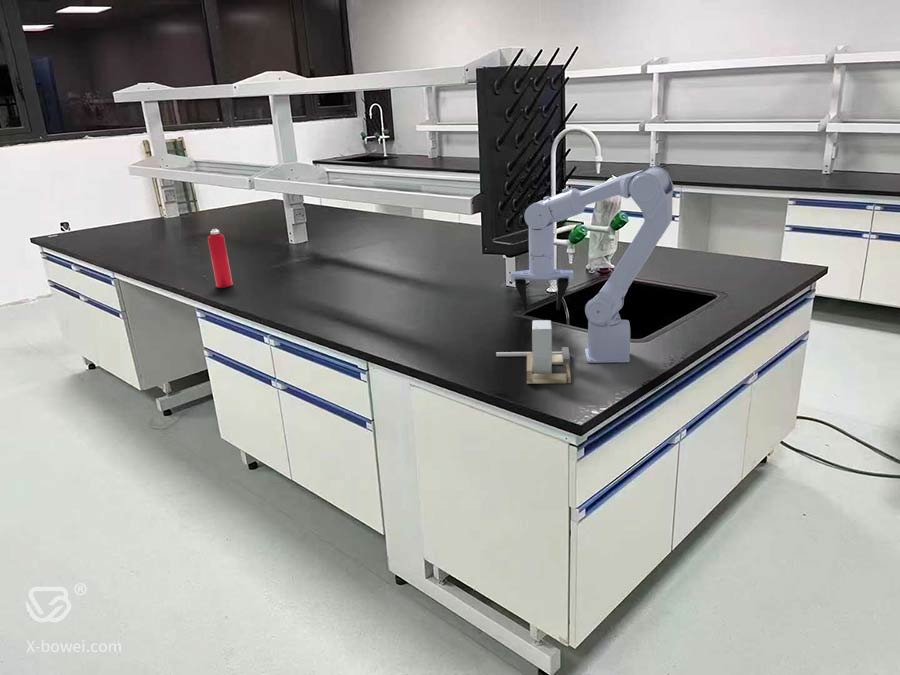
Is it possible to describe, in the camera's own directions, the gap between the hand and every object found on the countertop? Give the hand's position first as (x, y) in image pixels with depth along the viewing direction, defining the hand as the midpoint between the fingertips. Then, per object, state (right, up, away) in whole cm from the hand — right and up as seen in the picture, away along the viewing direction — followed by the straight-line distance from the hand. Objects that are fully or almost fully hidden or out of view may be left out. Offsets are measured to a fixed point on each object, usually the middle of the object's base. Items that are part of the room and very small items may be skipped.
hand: (541, 309), depth 161 cm
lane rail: (-3, -12, -4) cm, 13 cm away
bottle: (-101, +11, +75) cm, 126 cm away
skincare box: (-1, -15, -11) cm, 19 cm away
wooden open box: (0, -14, -9) cm, 17 cm away
